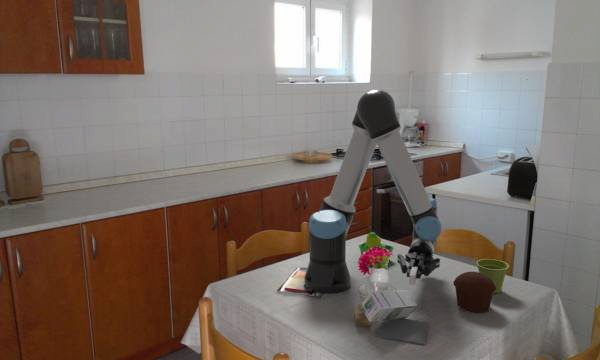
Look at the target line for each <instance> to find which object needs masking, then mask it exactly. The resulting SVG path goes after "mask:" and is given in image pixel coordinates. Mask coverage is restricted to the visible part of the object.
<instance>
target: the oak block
mask: <svg viewBox="0 0 600 360" xmlns="http://www.w3.org/2000/svg"><path fill="white" fill-rule="evenodd" d="M360 305H361V303H360V304H354V315H353V317H354V322H355V326H356V327H363V326H364V327H368V326H372V322H369V320H368V319H367V317H366V316H365V314H364V312H363V310H362V308H361V306H360Z"/></svg>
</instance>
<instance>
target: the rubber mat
mask: <svg viewBox="0 0 600 360" xmlns="http://www.w3.org/2000/svg"><path fill="white" fill-rule="evenodd" d="M429 327H430V321H425V320H418V319H417V320H416V319H413V318H412V319H411V318H401V319H392V320H383V321H381V325H380V326H379V329H378V332H377V334H376V338H379V339H386V340H390V341H397V342H403V343H410V344H415V345H420V346H425V345H426V340H427V336H428V332H429Z"/></svg>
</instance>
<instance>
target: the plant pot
mask: <svg viewBox="0 0 600 360" xmlns="http://www.w3.org/2000/svg"><path fill="white" fill-rule="evenodd" d="M476 266H477V269H478V272H479V273H482V274H484V275H486V276H488V277H489V278H490V279H491V280H492V281H493V282H494V284H495V286H496V290H495V291H494V292H493V294H495V293H496V294H500V293H501V292H502V290H503V286H504V280H505V276H506V273H507V271H508V270H509V268H510V265H509V264H508V263H507V262H505V261H503V260H498V259H493V258H482V259H478V260H477V261H476Z"/></svg>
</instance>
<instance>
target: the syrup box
mask: <svg viewBox="0 0 600 360" xmlns="http://www.w3.org/2000/svg"><path fill="white" fill-rule="evenodd" d="M360 304H361V305H360V306H361V308H362V310H363V312H364V314H365V316H366V317H367V319H368V320H369V322H371V323H373V322H383V320H392V319H401V318H405V319H408V317H409V316H410V315H411V313H413V311H414V310H415V309H416V308H417V307H418V305H417V302H416V301H415V299H414V298H413V296H412V295H411V294H410V292H409V291H408V290H407V289H399V290H398V289H397V290H382V291H370V292H369V293H368V295H367V296H366V297H365V299H364V300H363V301H362V302H361V303H360Z"/></svg>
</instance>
